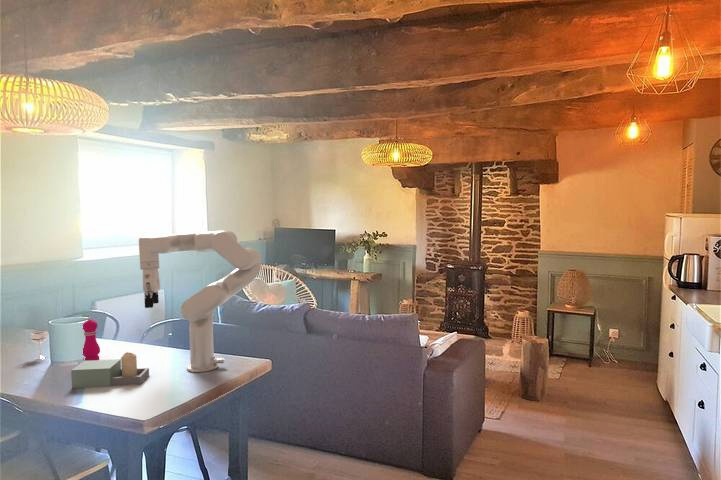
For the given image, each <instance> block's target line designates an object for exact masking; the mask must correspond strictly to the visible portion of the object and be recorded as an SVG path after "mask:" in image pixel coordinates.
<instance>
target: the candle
mask: <svg viewBox="0 0 721 480" xmlns="http://www.w3.org/2000/svg"><path fill="white" fill-rule="evenodd" d="M120 359H121V369H122V377H129V376H137V367H138V366H137V365H138V364H137V361H138V360H137V355H136V354H135V353H133V352H128V351H127V352H125V353H124V354H123V355H122V356H121V357H120Z"/></svg>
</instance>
